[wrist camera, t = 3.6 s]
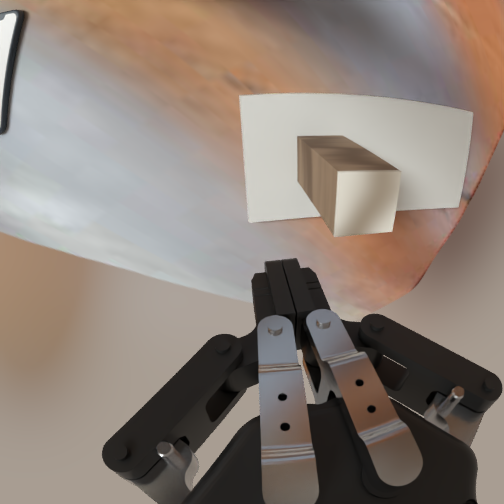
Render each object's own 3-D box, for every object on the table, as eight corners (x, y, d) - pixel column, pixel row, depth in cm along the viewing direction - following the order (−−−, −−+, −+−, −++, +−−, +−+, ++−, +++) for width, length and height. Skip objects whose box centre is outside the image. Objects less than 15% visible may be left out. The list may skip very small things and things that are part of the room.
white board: (247, 216, 35) (249, 222, 34) (238, 95, 28) (239, 95, 26) (452, 202, 37) (458, 207, 36) (466, 110, 29) (473, 112, 28)
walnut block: (297, 181, 32) (334, 237, 22) (297, 136, 29) (339, 172, 19) (340, 178, 32) (392, 231, 22) (342, 135, 29) (401, 171, 19)
